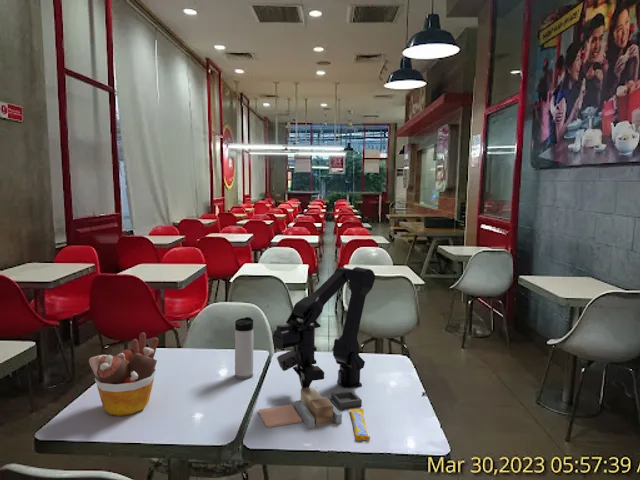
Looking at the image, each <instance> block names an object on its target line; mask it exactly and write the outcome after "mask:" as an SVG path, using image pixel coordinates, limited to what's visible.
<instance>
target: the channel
mask: <svg viewBox="0 0 640 480" xmlns="http://www.w3.org/2000/svg"><path fill="white" fill-rule="evenodd" d="M322 398H323V399H324V398H327V399H328V400H329V401H330V403H331V404H332V405H333V422H335V424H342V421H343V414H342V413H341V411H340V409H339V408H338V407H337V406H336V405H335V404H334V403H333V402H332V401H331V399H329V398H328V397H327V396H322ZM338 409H339V410H338ZM295 410H296V412H297V413H298V415H299V416H300V418H301V419H302V421H304V423H305V425H306V426H307V427H308V429H315V426H316V425H315V418H314V417H313V416H312V414H311V413H310V412H309V410H308V409H307V408H306V406H305V405H304V404H303V402H302V401H301V399H299V400H296V401H295Z"/></svg>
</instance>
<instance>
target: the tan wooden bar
mask: <svg viewBox="0 0 640 480" xmlns="http://www.w3.org/2000/svg"><path fill="white" fill-rule="evenodd" d="M322 397H323V396H322V395H321V393H319V392H318V390H316V388H315V387H314V386H309V388H302V387H301V388H300V400H301V401H302V402H303V404H304V405H305V406H306V408H307V409H308V410H309V412H310V400H317V399H323V398H322Z"/></svg>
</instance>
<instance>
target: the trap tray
mask: <svg viewBox="0 0 640 480" xmlns="http://www.w3.org/2000/svg"><path fill="white" fill-rule="evenodd" d="M330 394H331V396H330V398H331V399H330V401H331V402H332V403H333V404H334V406H335V407H336V408H337V409H339V411H340V410H346V409H355V408H358V407H359V408H360V407H362V405H363V403H362V402H363V400H362V398H360V397H359V396H358V395H357V393H355V392H354V391H353V390H348V391H340V392H339V391H338V392H333V393H330Z"/></svg>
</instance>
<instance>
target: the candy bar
mask: <svg viewBox="0 0 640 480" xmlns="http://www.w3.org/2000/svg"><path fill="white" fill-rule="evenodd" d="M348 409H349V413H350V417H351V422H352V427H353V430H354V431H353V432H354V436H355V437H354V440H355V441H357V442H363V441H370V439H371V436H370V435H368V429H367V427H366V426H367V425H366V422H365V416H364V412H365V410H364V408H348Z"/></svg>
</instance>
